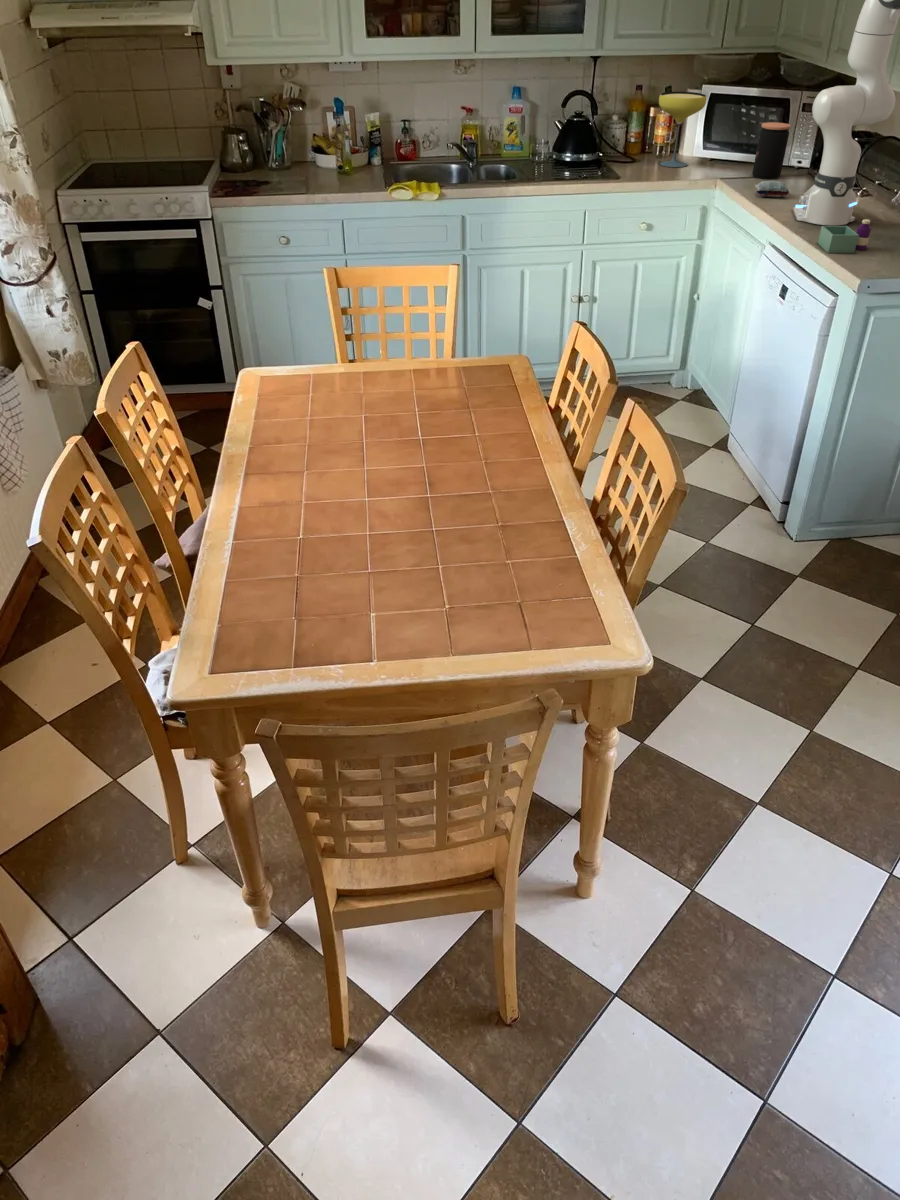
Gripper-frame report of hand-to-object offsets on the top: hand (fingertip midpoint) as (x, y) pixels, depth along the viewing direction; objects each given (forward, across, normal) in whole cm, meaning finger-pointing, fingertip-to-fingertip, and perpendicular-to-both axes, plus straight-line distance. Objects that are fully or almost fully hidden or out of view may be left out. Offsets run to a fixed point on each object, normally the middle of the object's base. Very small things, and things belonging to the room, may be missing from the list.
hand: (899, 207), depth 260 cm
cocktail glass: (+38, -118, -22) cm, 126 cm away
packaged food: (+20, -65, -4) cm, 69 cm away
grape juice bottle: (+14, 0, +2) cm, 14 cm away
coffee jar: (+15, -97, +1) cm, 98 cm away
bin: (+19, 0, -3) cm, 20 cm away
